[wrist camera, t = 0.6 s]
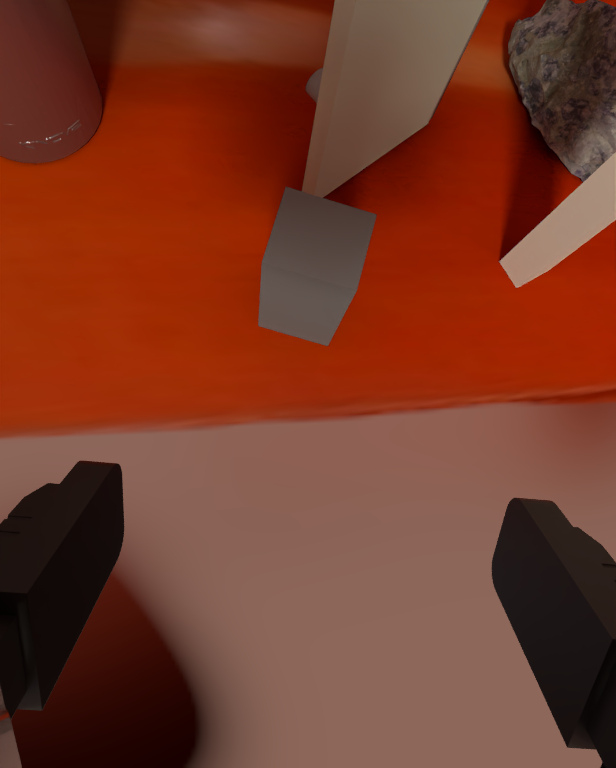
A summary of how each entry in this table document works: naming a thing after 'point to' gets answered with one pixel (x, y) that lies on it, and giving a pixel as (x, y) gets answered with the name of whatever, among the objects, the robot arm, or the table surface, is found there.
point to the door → (381, 80)
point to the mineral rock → (569, 79)
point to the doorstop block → (312, 265)
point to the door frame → (565, 227)
